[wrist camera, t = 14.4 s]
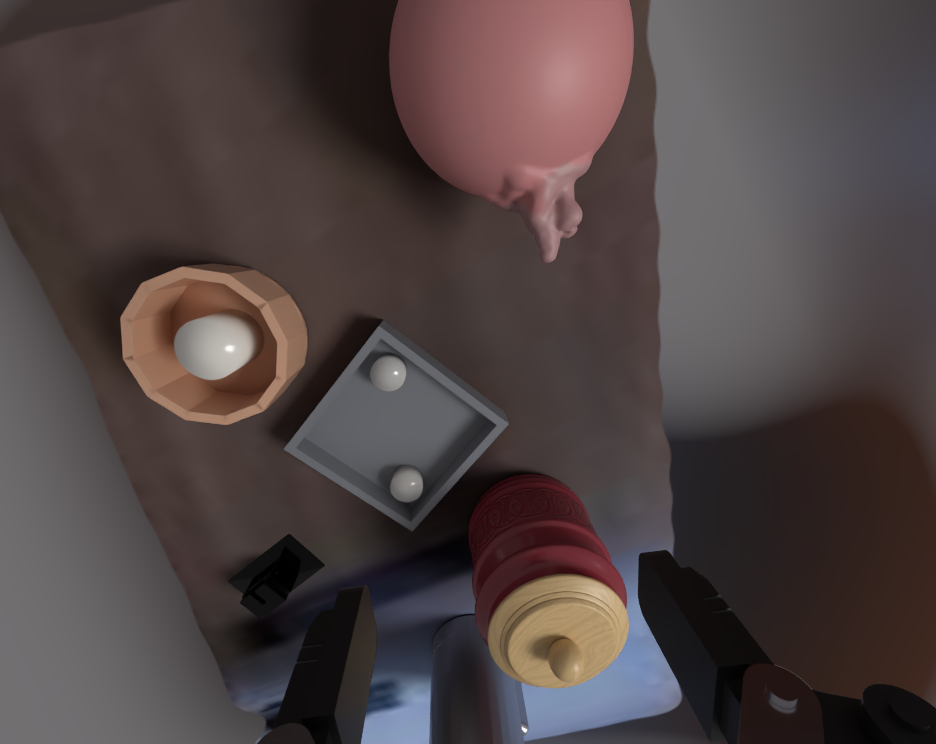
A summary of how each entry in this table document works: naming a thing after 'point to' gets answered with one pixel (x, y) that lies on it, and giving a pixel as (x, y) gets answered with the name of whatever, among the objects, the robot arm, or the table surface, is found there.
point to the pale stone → (218, 343)
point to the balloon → (512, 97)
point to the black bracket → (275, 575)
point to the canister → (544, 584)
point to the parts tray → (397, 428)
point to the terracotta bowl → (196, 296)
